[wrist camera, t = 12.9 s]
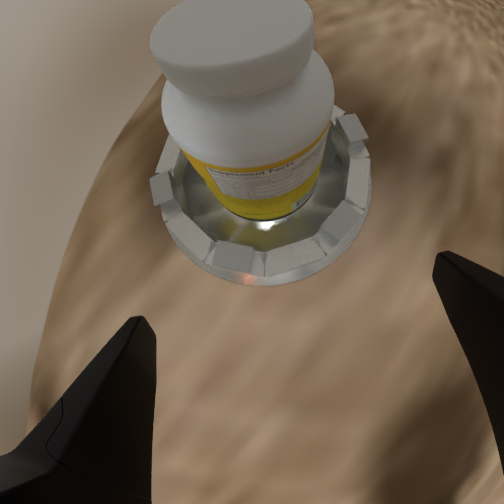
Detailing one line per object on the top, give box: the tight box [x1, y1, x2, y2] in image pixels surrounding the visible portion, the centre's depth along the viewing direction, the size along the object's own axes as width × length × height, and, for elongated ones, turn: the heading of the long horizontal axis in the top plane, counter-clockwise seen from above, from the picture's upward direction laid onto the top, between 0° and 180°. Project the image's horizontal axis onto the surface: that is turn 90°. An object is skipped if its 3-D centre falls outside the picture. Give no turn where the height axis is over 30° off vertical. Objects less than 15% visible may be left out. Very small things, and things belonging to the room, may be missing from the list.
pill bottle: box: [150, 0, 335, 222], centre depth 11 cm, size 6×6×12 cm
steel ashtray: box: [149, 105, 372, 286], centre depth 16 cm, size 14×14×3 cm
